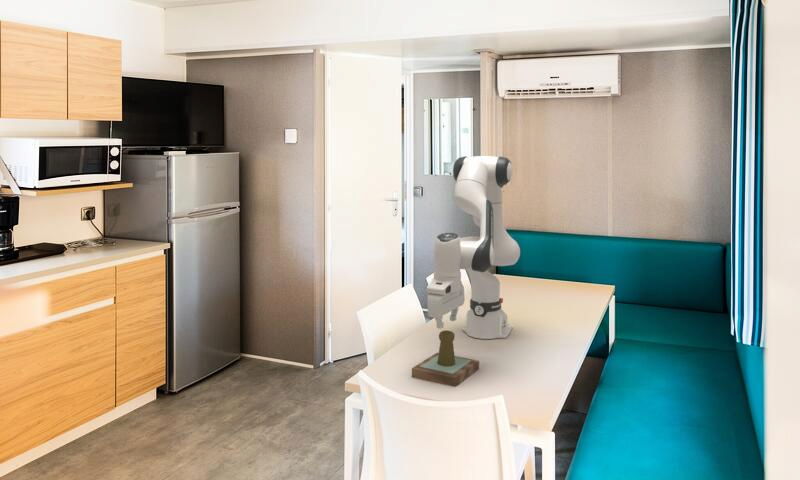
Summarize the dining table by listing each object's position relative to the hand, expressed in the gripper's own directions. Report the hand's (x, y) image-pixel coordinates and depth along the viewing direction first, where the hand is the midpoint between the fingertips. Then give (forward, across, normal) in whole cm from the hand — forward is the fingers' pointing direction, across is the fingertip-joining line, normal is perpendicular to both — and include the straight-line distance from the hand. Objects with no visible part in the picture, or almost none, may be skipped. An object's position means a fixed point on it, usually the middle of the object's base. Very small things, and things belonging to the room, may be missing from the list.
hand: (446, 324), depth 214 cm
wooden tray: (+17, 0, 0) cm, 17 cm away
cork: (+14, 0, 0) cm, 14 cm away
